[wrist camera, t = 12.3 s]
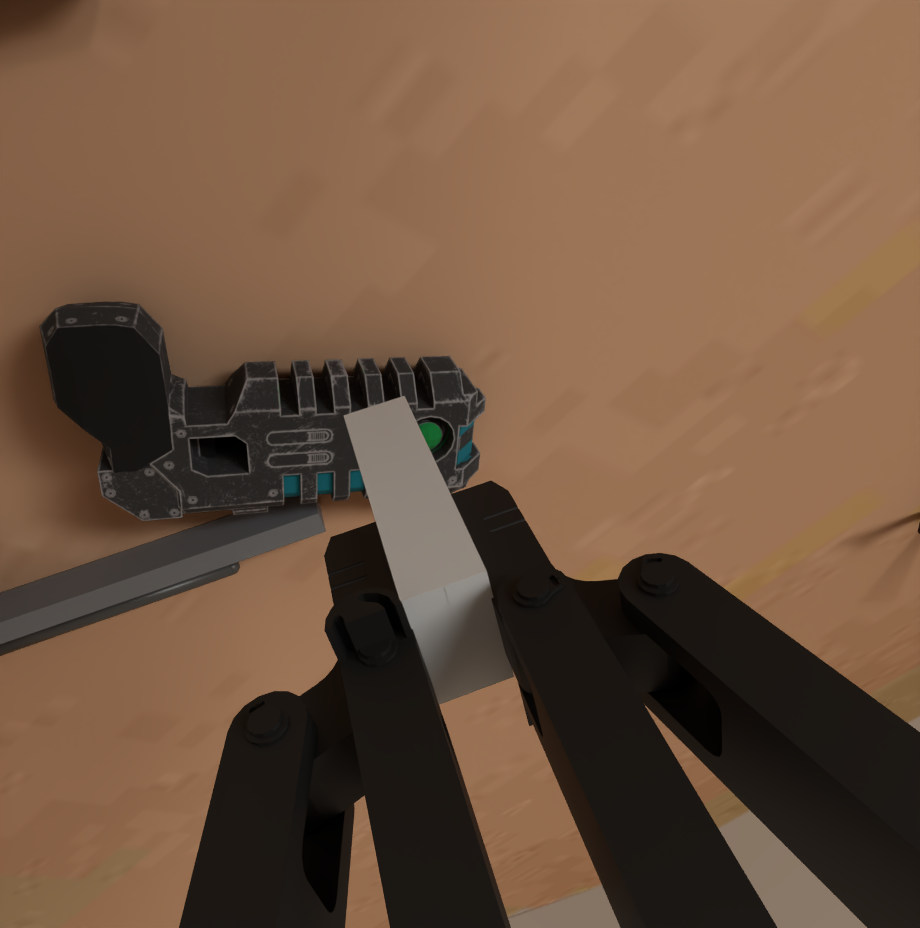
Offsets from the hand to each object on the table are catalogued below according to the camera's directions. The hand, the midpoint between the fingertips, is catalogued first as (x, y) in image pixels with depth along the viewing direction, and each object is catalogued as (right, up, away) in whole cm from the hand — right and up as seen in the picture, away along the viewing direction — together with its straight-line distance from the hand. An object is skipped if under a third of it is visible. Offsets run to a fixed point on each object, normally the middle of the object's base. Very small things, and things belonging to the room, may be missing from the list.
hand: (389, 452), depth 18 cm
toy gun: (-6, +7, +14) cm, 17 cm away
